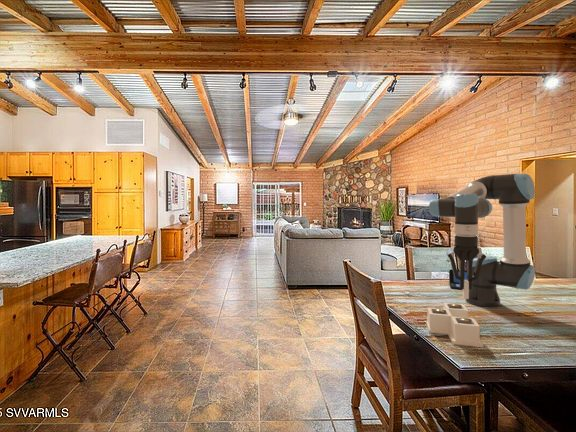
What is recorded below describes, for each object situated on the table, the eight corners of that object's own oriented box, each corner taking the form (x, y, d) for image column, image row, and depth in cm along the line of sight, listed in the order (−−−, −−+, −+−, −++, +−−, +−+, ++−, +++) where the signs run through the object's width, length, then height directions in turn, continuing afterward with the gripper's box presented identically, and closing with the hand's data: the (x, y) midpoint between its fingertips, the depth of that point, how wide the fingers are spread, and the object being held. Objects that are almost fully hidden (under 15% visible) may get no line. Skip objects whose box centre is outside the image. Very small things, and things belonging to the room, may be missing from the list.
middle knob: (444, 323, 131) (444, 308, 130) (445, 327, 127) (446, 312, 126) (432, 322, 132) (432, 307, 132) (434, 326, 128) (434, 311, 128)
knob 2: (469, 333, 120) (469, 317, 120) (472, 338, 116) (472, 322, 116) (456, 332, 122) (456, 316, 121) (459, 337, 118) (459, 320, 117)
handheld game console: (450, 289, 187) (450, 273, 187) (448, 283, 200) (448, 269, 199) (480, 291, 181) (481, 275, 181) (477, 286, 193) (477, 271, 193)
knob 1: (459, 317, 137) (459, 303, 136) (462, 321, 132) (462, 307, 132) (448, 316, 138) (448, 302, 138) (450, 320, 134) (450, 306, 133)
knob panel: (465, 320, 139) (465, 303, 138) (483, 347, 113) (483, 327, 112) (424, 316, 144) (424, 300, 143) (432, 341, 118) (432, 322, 118)
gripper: (448, 236, 116) (448, 299, 117) (489, 236, 112) (488, 302, 113) (445, 233, 123) (444, 293, 124) (483, 234, 119) (482, 295, 120)
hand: (465, 297), depth 119 cm, fingers closed
